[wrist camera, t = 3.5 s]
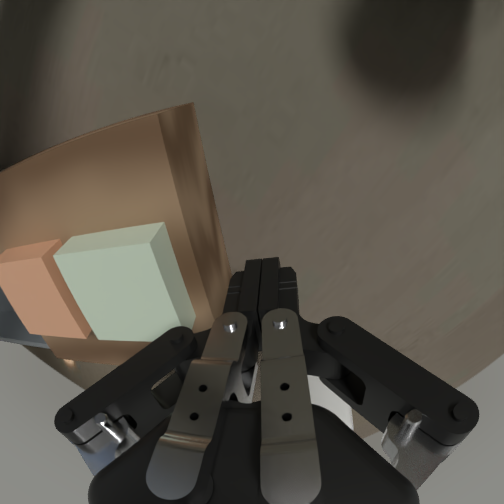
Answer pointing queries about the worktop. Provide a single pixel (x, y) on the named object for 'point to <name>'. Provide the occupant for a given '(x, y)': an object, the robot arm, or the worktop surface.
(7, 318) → the box
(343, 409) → the eye dropper bottle
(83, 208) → the wood grain case
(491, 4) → the worktop surface
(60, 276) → the terracotta tile
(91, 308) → the sage tile
